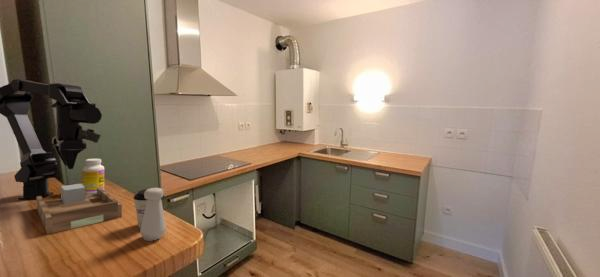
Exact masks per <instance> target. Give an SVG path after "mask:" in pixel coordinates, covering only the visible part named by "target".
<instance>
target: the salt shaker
mask: <svg viewBox="0 0 600 277" xmlns="http://www.w3.org/2000/svg"><path fill="white" fill-rule="evenodd" d="M146 189H147V190H146V191H145V192H144V197H145V199H147V204H146V208H145V212H144V216H143V221H142V225H141V228H139V230H140V235H141V237H142V238H143V240H144V241H146V242H154V241H158V240H160V239H161V238H162V237H163V236H164V234H165V231H166V229H167V222H166V218H165V213H164V207H163V202H162V198H163V197H164V189H162V188H160V187H151V188H146ZM157 239H158V240H157ZM153 240H154V241H153Z"/></svg>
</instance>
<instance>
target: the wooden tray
mask: <svg viewBox="0 0 600 277" xmlns="http://www.w3.org/2000/svg"><path fill="white" fill-rule="evenodd" d="M35 200H36V211H37V213H38V216H39V218H40V220H41V223H42V225H43V227H44V229H45V232H46V235H49V234H55V233H58V232H62V231H63V232H64V231H67V230H71V229H72V230H73V229H77V228H79V227H80V228H81V227H85V226H89V225H93V224H98V223H102V222H106V221H111V220H115V219H119V218H123V217H122V216H123V214H122V213H123V211H122V210H123V208H122V207H123V206H122V205H123V204H122V203H121V202H119V201H118V200H117V199H116V198H115V197H113V196H112V195H110V194H109V193H108V192H107V191H106V190H105V189H104V190H103V189H102V188H101V187H98V188H97V193H94V194H85V201H81V202H75V203H69V204H64V203H63V201H62V200H61V198H57V199H51V200H45V201H44V198H42V197H41V196H36V199H35Z"/></svg>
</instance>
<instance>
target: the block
mask: <svg viewBox="0 0 600 277" xmlns="http://www.w3.org/2000/svg"><path fill="white" fill-rule="evenodd" d="M85 195H86V194H85V187H84V186H83V185H82V183H75V184H69V185H62V186H60V196H61V197H60V199H61V200H62V201H63V203H64V204H69V203H75V202H81V201H85Z"/></svg>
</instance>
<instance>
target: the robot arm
mask: <svg viewBox="0 0 600 277" xmlns="http://www.w3.org/2000/svg"><path fill="white" fill-rule="evenodd" d="M20 92H21V93H20ZM22 92H25V93H22ZM34 94H38V95H43V96H47V97H48V98H50V99H51V100H54V101H55V102H54V103H52V104H51V105H50V107H51V108H55V109H56V110H55V111H56V114H55V117H56V120H55V121H56V122H55V123H56V124H55V128H56V135H54V137H52V139H51V143H52V145H53V147H54V149H55V151H56V152H57V154H58V156H59V157H60V160H61V161H62V163H63V165H64V166H66V167H67V169H69V170H73V169H74V166H75V165H76V160H77V158H78V155H79V154H80V153H81V152H83V151H84V150H87V143H86V142H85V141H84V140H86V141H90V142H93V143H95V144H98V143H99V141H100V139H101V137H102V134H99V133H95V130H94V129H91V128H87V129H86V130H85V129H83V126H82V125H81V124H90V125H93V124H94V125H95V124H98V123H99V122H100V121H101V120H102V116H103V114H102V113H101V112H102V111H101V110H100V109H99V108H98V107H96V106H97V104H96V103H94V102H93V103H92V102H90V100H89V99H88V98H87V96H86V94H85V93H84V91H83V89H82V87H81V86H79V85H73V84H66V83H58V82H57V83H48V84H47V83H42V82H35V81H33V80H28V79H27V80H26V79H22V78H21V79H20V78H16V79H13V80H11V82H9V83H8V84H7V83H6V84H5V85H3V86H0V115H2V116H3V117H5V118H6V119H7V122H8V123H9V125H10V128H11V131H12V133H13V135H14V137H15V139H16V141H17V144H18V146H19V148H20V150H21V153H22V158H21V160H20V163H19V165H20V168H19V170H18V171H17V172H16V173H15V174H14V179H15V182H17V183H22V185H23V186H22V195H21V196H18V197H17V198H18V200H36V196H41V197H42V199H44V198H45V197H49V196H50V195H51V196H52V195H53V194H54V191H49V179H51V178H56V174H57V170H58V169H59V168H58V167H59V164H58V160H57V159H56V157H55V154H54V153H53V152H52V151H50V152H49V151H48V152H47V151H45V150H44V149H43V147H42V145H41V143H40V140H39V138H38V136H37V134H36V132H35V129H34V127H33V125H32V122H31V120H30V118H29V116H28V112H29V110H30V108H31V105H30V103H31V102H33V100H34Z"/></svg>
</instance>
